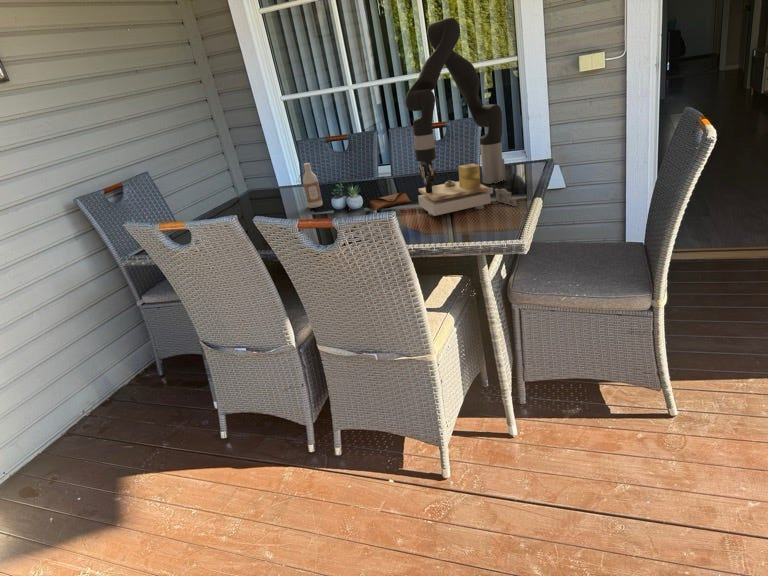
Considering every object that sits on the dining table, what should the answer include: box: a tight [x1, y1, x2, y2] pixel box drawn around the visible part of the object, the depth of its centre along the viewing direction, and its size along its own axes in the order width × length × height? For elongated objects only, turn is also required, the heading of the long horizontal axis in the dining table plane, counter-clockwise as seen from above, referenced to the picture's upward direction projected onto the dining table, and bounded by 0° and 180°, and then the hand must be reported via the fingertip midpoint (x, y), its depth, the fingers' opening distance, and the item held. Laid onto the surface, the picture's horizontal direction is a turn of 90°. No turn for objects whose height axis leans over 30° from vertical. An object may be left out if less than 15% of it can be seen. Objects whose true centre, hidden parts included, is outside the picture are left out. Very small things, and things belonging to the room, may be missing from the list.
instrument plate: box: [418, 163, 490, 201], centre depth 198 cm, size 23×18×10 cm
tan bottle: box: [302, 162, 323, 209], centre depth 238 cm, size 7×7×20 cm
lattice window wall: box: [494, 188, 517, 207], centre depth 197 cm, size 12×2×6 cm, turn 23°
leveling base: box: [417, 187, 494, 217], centre depth 201 cm, size 24×21×8 cm
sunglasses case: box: [368, 191, 413, 211], centre depth 224 cm, size 18×7×7 cm, turn 109°
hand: (429, 192), depth 197 cm, fingers closed
